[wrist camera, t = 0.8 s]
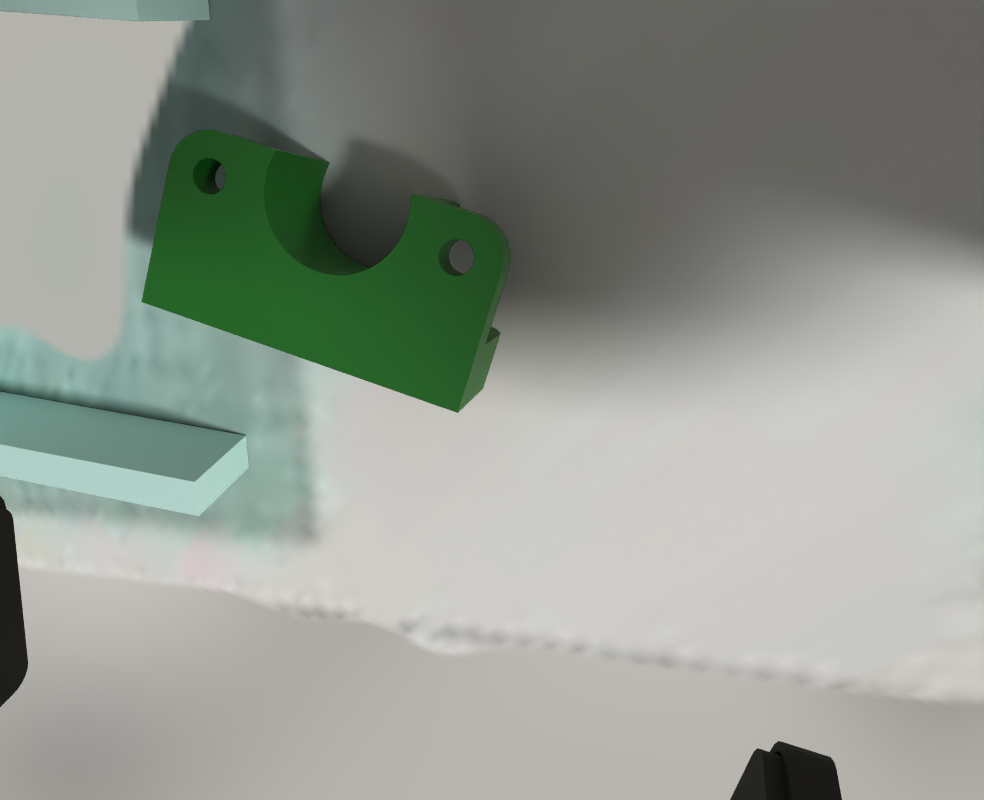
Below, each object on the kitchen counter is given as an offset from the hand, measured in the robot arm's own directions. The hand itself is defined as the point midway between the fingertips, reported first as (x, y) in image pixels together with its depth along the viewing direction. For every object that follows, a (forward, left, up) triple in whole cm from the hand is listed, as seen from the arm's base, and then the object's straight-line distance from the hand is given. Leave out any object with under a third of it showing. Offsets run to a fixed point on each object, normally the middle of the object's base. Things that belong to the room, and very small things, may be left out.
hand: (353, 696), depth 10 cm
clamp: (+8, +1, -22) cm, 23 cm away
